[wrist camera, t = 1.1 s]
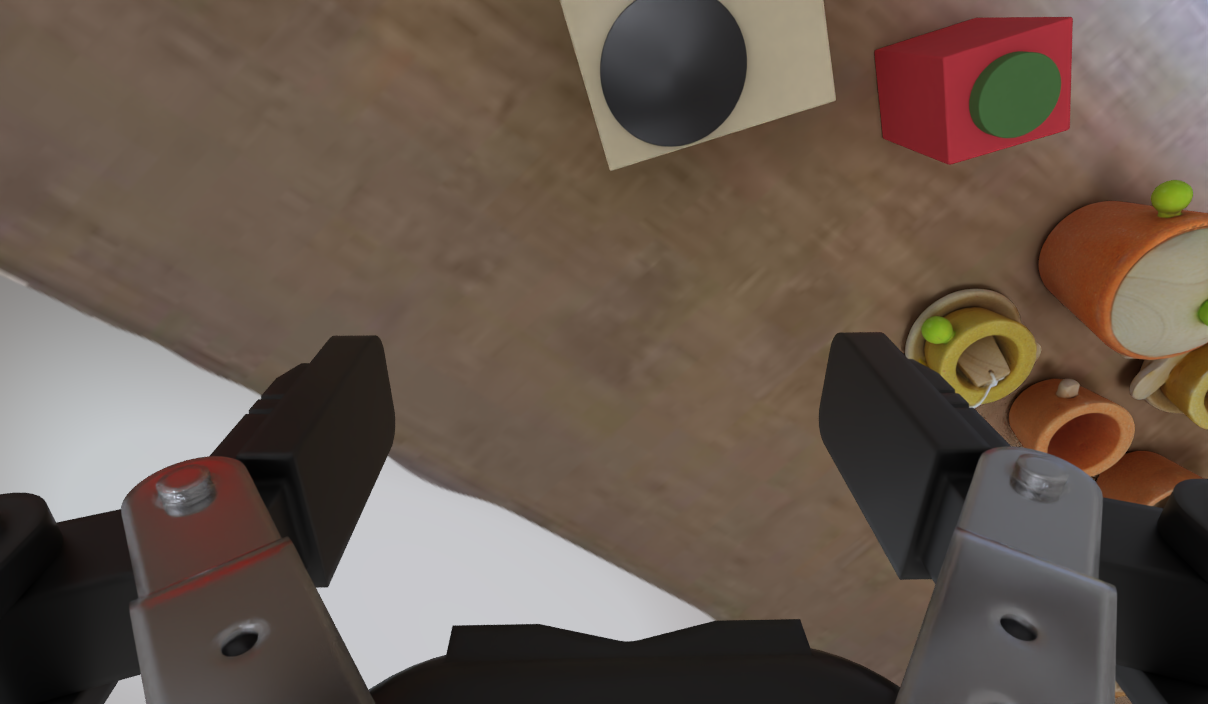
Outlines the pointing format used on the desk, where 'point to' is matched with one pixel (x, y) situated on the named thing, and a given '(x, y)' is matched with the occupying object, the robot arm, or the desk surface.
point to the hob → (773, 79)
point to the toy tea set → (1113, 313)
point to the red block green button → (976, 86)
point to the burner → (673, 69)
